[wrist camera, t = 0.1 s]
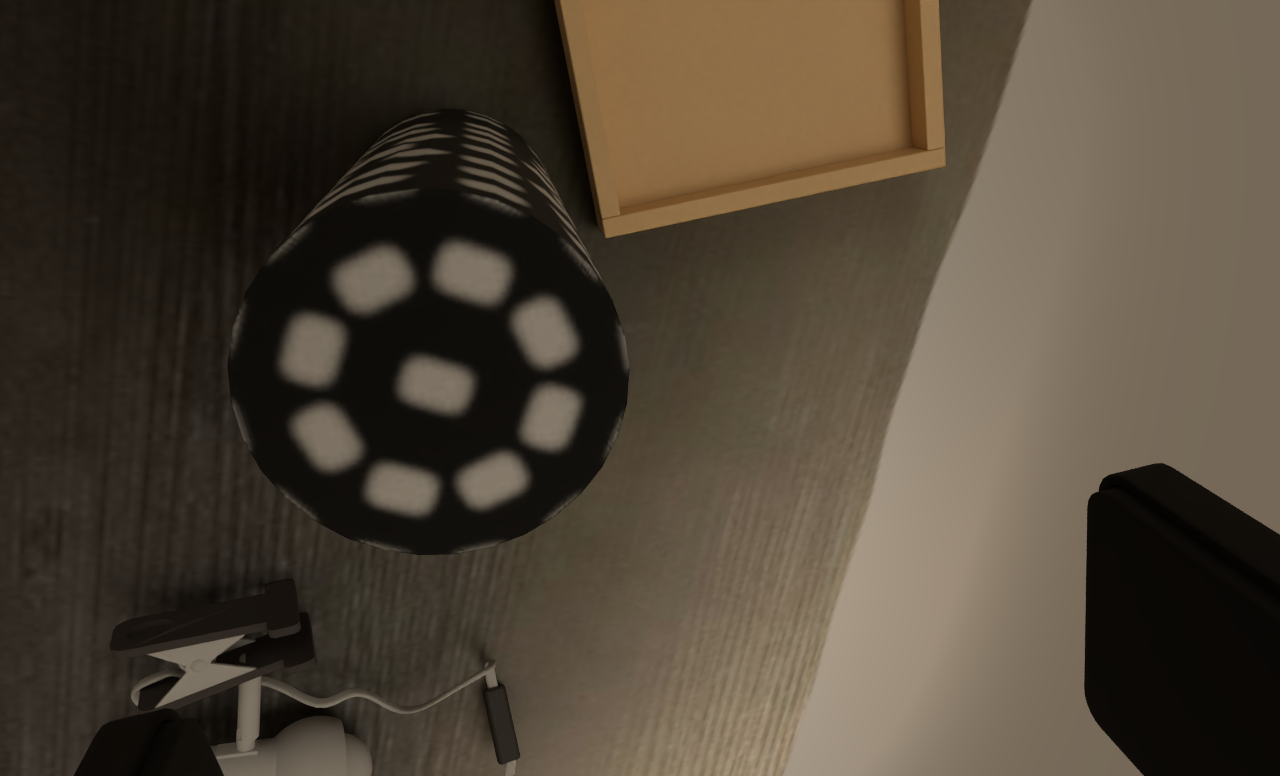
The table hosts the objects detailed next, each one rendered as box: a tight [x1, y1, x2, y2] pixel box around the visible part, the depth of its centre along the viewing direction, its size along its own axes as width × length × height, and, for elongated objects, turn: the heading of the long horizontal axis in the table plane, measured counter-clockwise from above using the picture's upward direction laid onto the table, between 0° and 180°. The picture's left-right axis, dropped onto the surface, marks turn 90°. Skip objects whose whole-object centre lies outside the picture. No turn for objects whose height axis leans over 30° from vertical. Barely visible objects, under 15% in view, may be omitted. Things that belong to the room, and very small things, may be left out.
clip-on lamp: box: [110, 580, 520, 776], centre depth 43 cm, size 12×6×18 cm
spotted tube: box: [228, 109, 629, 555], centre depth 29 cm, size 8×8×20 cm
